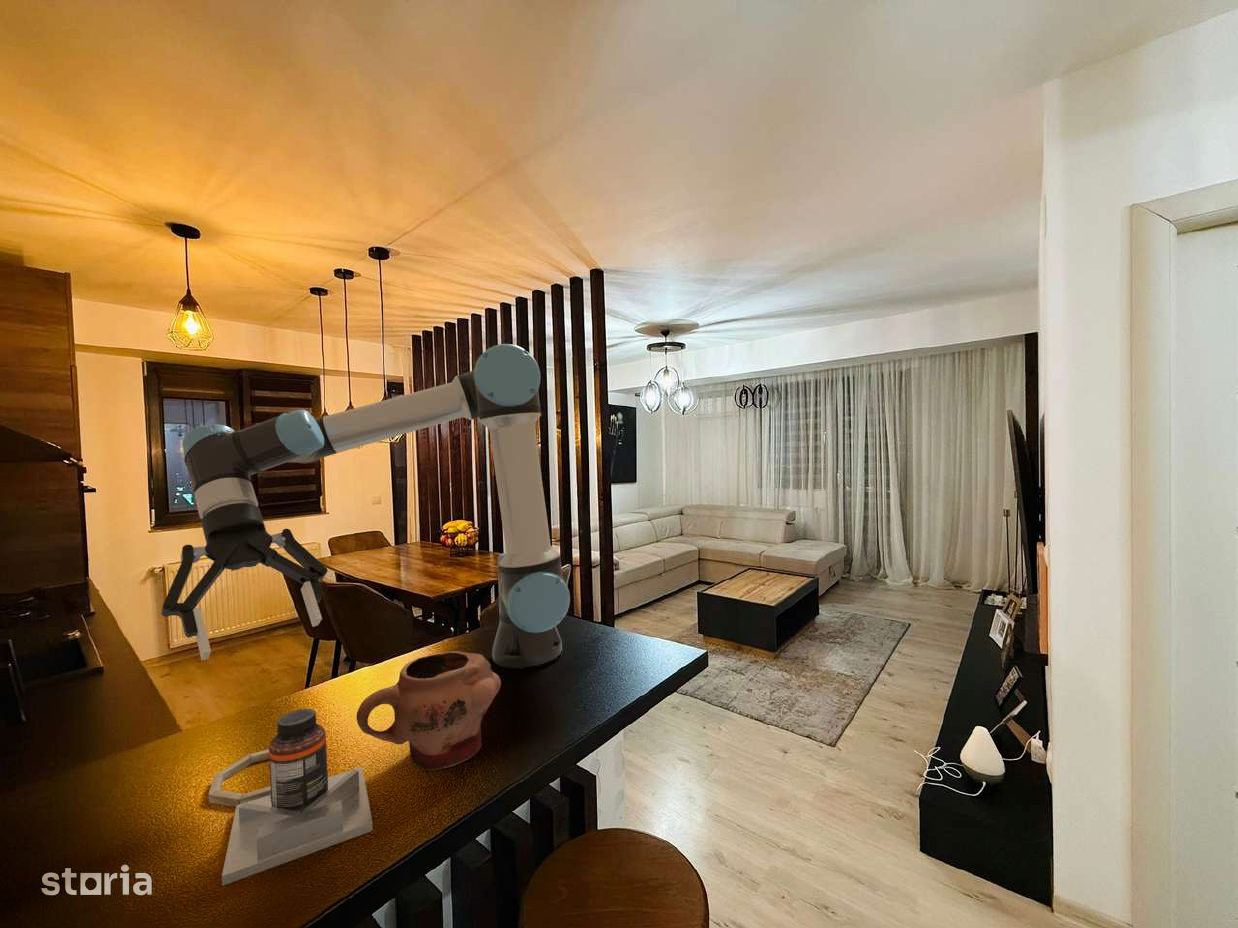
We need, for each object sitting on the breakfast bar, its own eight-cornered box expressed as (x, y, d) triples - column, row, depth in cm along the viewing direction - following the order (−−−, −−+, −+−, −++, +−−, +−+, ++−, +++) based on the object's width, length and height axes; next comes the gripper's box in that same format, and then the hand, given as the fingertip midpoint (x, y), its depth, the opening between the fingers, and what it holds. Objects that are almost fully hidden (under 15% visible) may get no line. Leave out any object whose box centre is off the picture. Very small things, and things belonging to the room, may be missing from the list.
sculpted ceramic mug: (373, 811, 63) (369, 699, 63) (349, 768, 72) (345, 670, 72) (517, 748, 76) (514, 655, 76) (481, 718, 85) (478, 635, 85)
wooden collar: (315, 742, 79) (315, 736, 79) (317, 783, 69) (316, 775, 69) (218, 769, 73) (218, 762, 73) (203, 818, 63) (203, 810, 63)
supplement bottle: (293, 791, 66) (290, 703, 66) (338, 791, 66) (335, 703, 65) (259, 824, 60) (255, 728, 60) (308, 824, 60) (304, 727, 59)
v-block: (236, 813, 63) (235, 785, 63) (362, 773, 71) (361, 748, 71) (222, 885, 52) (220, 851, 52) (372, 830, 60) (371, 800, 60)
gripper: (312, 512, 92) (349, 620, 85) (120, 541, 73) (147, 682, 66) (322, 490, 88) (362, 602, 81) (121, 514, 69) (151, 662, 62)
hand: (265, 638), depth 74 cm, fingers open, 13 cm apart
